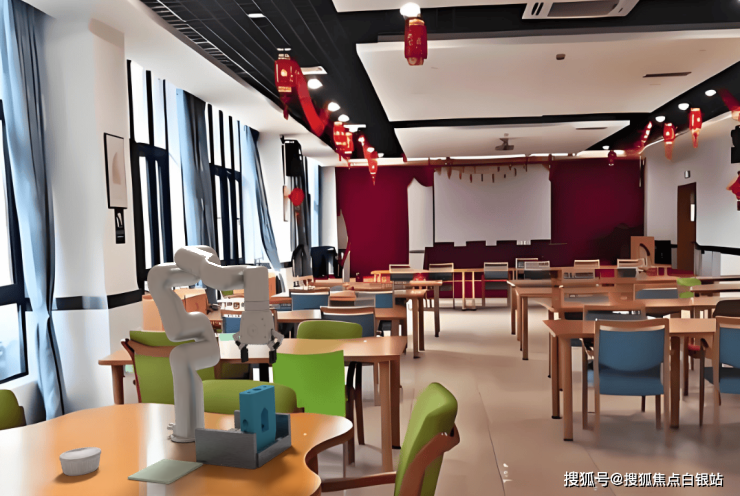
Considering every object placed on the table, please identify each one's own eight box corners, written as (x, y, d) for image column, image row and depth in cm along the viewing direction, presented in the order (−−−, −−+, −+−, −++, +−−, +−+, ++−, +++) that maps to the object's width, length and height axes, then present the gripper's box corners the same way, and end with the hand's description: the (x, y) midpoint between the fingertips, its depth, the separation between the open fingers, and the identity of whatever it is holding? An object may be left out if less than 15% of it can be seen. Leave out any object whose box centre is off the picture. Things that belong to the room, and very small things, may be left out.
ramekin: (90, 461, 189) (90, 444, 189) (109, 468, 182) (108, 450, 182) (53, 472, 180) (52, 454, 180) (70, 480, 173) (70, 461, 173)
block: (253, 462, 182) (250, 394, 182) (240, 460, 184) (237, 393, 184) (278, 450, 192) (275, 385, 192) (265, 448, 195) (262, 384, 195)
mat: (127, 479, 172) (127, 476, 172) (163, 460, 186) (163, 458, 186) (168, 484, 167) (168, 481, 167) (202, 465, 181) (202, 463, 181)
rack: (196, 462, 183) (194, 429, 183) (237, 440, 204) (236, 409, 204) (256, 469, 176) (254, 434, 176) (292, 445, 197) (291, 413, 197)
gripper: (225, 307, 188) (227, 363, 188) (276, 308, 182) (277, 366, 182) (239, 305, 195) (240, 359, 195) (288, 305, 189) (289, 361, 189)
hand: (258, 362), depth 189 cm, fingers open, 9 cm apart
